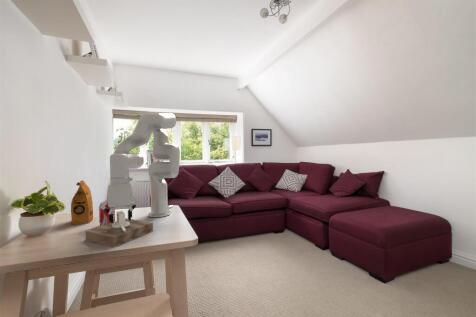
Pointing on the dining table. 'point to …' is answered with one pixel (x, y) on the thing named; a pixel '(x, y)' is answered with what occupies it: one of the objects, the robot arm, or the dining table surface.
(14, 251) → the dining table surface
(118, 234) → the flat wooden block
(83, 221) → the coffee package
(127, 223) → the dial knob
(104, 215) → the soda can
